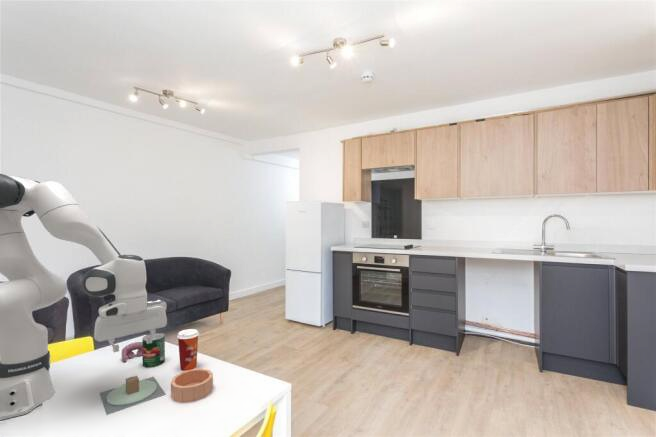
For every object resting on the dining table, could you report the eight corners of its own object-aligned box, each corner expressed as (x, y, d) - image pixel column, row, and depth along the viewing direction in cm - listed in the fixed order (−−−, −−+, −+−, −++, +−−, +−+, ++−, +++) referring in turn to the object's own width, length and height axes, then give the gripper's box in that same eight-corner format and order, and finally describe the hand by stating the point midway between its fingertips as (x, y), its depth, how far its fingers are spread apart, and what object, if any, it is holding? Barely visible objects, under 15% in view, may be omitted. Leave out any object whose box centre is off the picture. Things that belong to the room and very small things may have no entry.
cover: (110, 412, 95) (110, 395, 95) (103, 392, 105) (103, 378, 105) (161, 394, 104) (161, 379, 104) (150, 378, 115) (150, 364, 115)
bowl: (178, 408, 97) (178, 392, 97) (166, 392, 106) (166, 377, 106) (218, 393, 105) (218, 378, 105) (204, 379, 115) (204, 365, 115)
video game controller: (148, 357, 137) (147, 340, 140) (150, 355, 134) (148, 338, 137) (121, 364, 131) (120, 346, 134) (122, 362, 128) (121, 344, 130)
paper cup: (191, 374, 119) (190, 336, 119) (173, 372, 120) (172, 334, 120) (203, 364, 126) (203, 328, 126) (186, 362, 128) (185, 327, 128)
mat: (106, 416, 94) (106, 414, 94) (99, 394, 106) (99, 392, 106) (166, 395, 104) (166, 394, 104) (153, 377, 116) (153, 376, 116)
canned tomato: (141, 370, 122) (141, 341, 122) (142, 362, 129) (142, 335, 129) (165, 366, 125) (165, 337, 125) (165, 358, 132) (164, 331, 132)
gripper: (163, 297, 114) (164, 336, 114) (92, 309, 101) (94, 353, 101) (168, 300, 109) (170, 340, 109) (95, 313, 96) (96, 359, 96)
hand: (133, 347), depth 105 cm, fingers open, 8 cm apart
